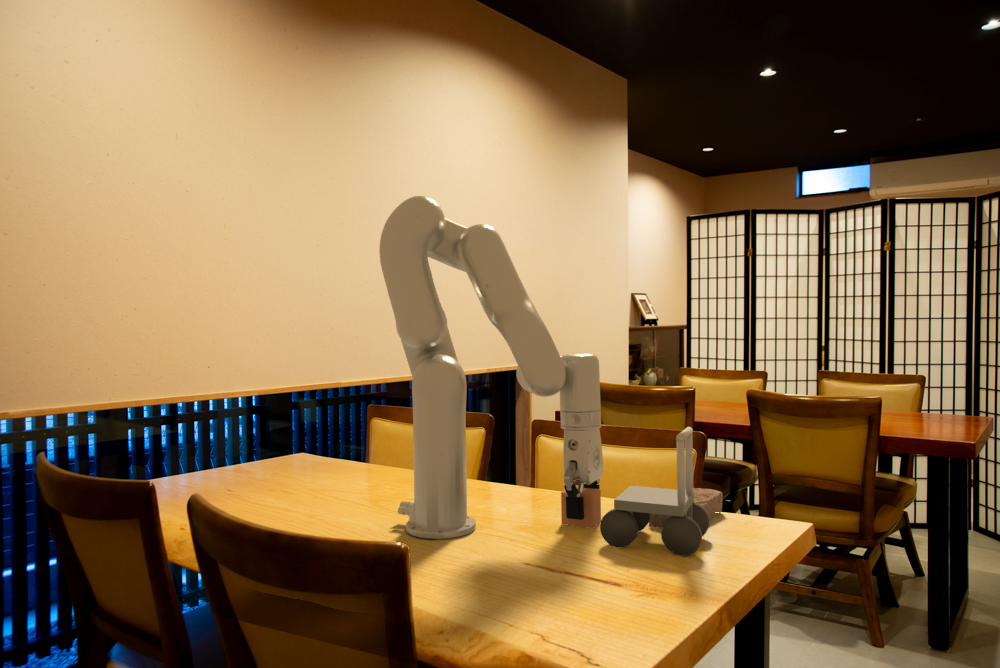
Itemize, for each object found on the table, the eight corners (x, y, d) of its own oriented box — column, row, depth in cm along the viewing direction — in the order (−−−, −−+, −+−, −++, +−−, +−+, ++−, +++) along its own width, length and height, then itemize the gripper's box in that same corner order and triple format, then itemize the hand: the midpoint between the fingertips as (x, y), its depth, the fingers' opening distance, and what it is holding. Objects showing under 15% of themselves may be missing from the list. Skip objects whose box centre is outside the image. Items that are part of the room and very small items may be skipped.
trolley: (599, 545, 104) (598, 430, 104) (617, 527, 114) (615, 422, 114) (700, 559, 97) (698, 436, 97) (710, 538, 107) (708, 427, 107)
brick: (690, 535, 110) (690, 508, 110) (646, 526, 115) (646, 500, 115) (724, 514, 123) (723, 490, 123) (682, 508, 128) (682, 484, 128)
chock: (561, 524, 116) (561, 492, 116) (570, 517, 121) (570, 486, 121) (592, 528, 114) (592, 495, 114) (600, 521, 118) (600, 489, 118)
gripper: (585, 426, 108) (589, 526, 108) (612, 414, 124) (616, 502, 123) (544, 425, 111) (548, 522, 111) (576, 413, 127) (579, 498, 127)
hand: (583, 511), depth 117 cm, fingers open, 9 cm apart
